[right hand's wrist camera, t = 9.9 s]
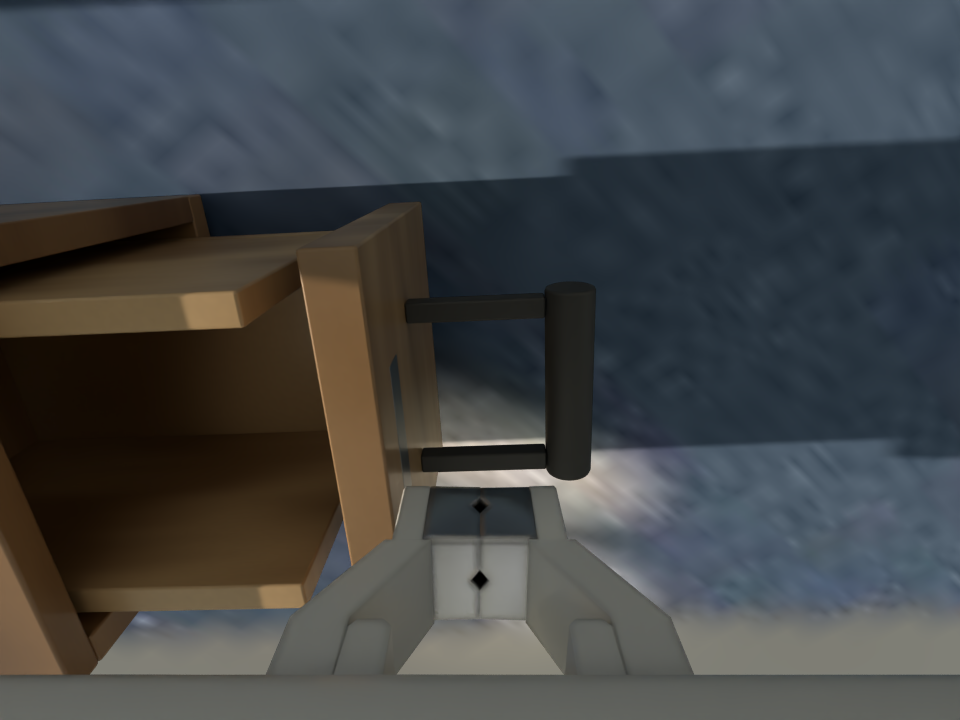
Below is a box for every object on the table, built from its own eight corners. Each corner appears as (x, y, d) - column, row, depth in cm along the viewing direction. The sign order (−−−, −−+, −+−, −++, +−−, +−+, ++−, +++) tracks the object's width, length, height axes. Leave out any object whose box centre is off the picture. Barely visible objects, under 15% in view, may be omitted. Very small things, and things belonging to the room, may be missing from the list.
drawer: (571, 193, 18) (642, 231, 10) (568, 442, 22) (617, 635, 13) (-38, 225, 19) (-483, 286, 11) (56, 459, 23) (-216, 650, 14)
